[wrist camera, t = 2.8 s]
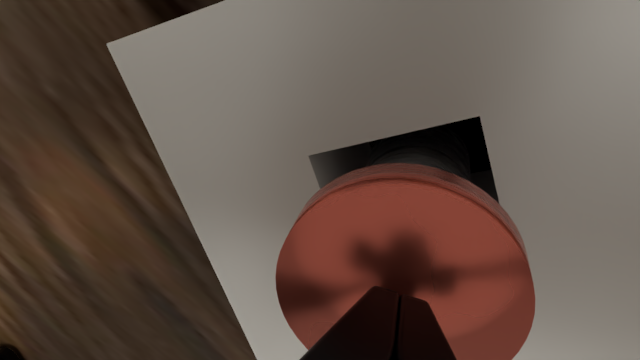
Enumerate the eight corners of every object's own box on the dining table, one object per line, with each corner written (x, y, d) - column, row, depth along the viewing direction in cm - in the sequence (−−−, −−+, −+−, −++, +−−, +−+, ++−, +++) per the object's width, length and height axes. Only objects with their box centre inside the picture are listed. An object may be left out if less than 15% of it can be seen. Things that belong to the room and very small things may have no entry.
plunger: (519, 220, 13) (555, 387, 8) (364, 245, 14) (320, 400, 9) (486, 64, 11) (506, 159, 7) (317, 108, 13) (239, 213, 8)
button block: (637, 246, 15) (712, 379, 11) (320, 288, 18) (277, 402, 14) (593, -132, 11) (678, -166, 7) (209, 8, 15) (106, 44, 10)
